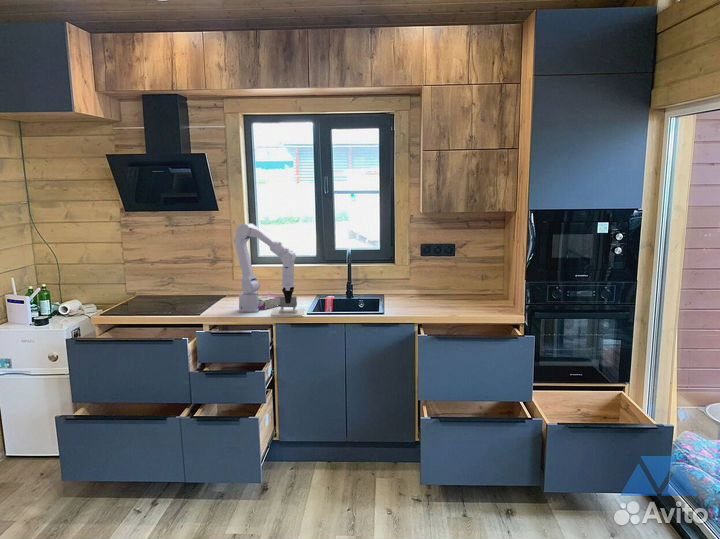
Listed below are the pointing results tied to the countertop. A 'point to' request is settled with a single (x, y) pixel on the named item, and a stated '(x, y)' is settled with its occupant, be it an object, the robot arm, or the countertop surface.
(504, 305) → the countertop surface
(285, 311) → the tray
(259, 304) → the candy bar box
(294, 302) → the block
